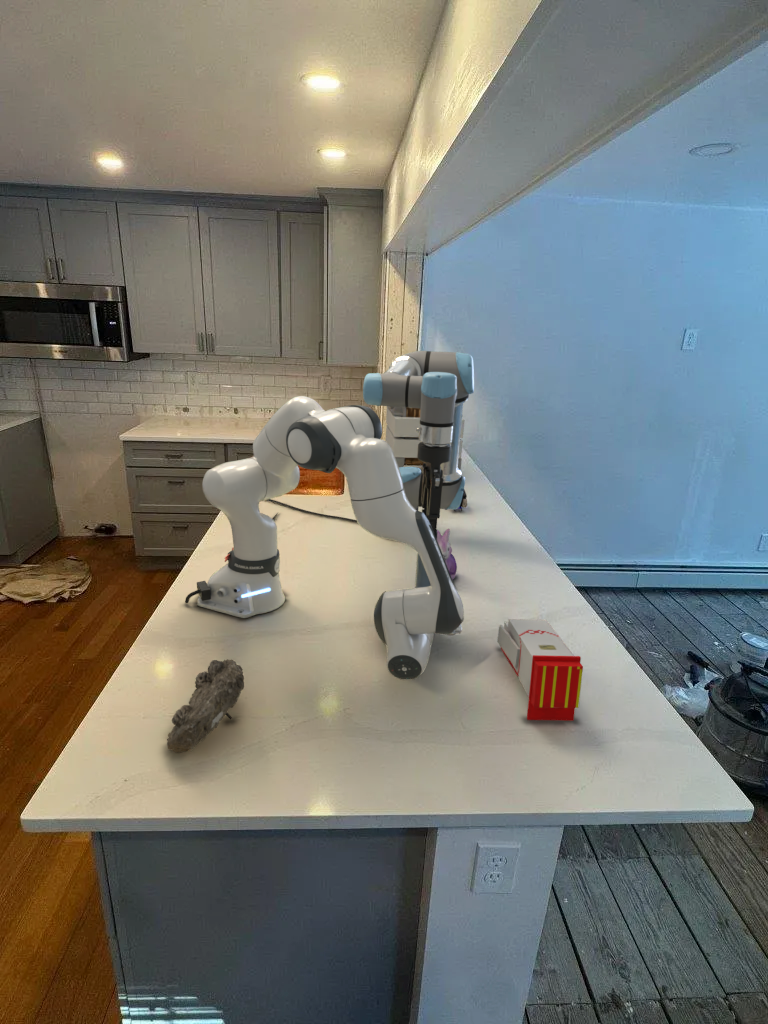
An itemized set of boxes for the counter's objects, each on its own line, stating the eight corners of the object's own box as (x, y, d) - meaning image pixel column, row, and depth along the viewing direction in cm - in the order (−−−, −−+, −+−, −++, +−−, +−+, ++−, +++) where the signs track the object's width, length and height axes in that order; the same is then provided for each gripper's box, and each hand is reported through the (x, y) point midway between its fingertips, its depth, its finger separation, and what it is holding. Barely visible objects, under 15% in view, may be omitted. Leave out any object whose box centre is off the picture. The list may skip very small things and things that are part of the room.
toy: (543, 604, 136) (592, 662, 106) (538, 656, 138) (584, 727, 109) (493, 603, 135) (528, 661, 106) (489, 655, 138) (522, 726, 109)
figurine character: (467, 516, 223) (461, 500, 237) (469, 499, 220) (463, 483, 233) (450, 516, 223) (446, 499, 236) (452, 498, 220) (447, 483, 233)
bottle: (419, 617, 146) (426, 527, 138) (433, 623, 144) (441, 532, 135) (408, 623, 143) (414, 532, 135) (423, 630, 140) (430, 537, 132)
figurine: (438, 587, 162) (442, 538, 157) (419, 572, 171) (423, 526, 166) (465, 581, 166) (470, 534, 161) (446, 567, 175) (450, 522, 170)
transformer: (382, 463, 289) (386, 382, 275) (445, 464, 293) (451, 384, 279) (390, 482, 257) (394, 392, 243) (460, 483, 261) (468, 394, 247)
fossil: (192, 660, 117) (244, 628, 112) (224, 691, 120) (276, 661, 115) (142, 746, 98) (202, 712, 93) (182, 779, 101) (242, 748, 96)
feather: (285, 507, 224) (287, 503, 224) (267, 531, 198) (270, 526, 197) (281, 504, 224) (284, 500, 223) (263, 528, 197) (265, 524, 197)
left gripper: (462, 623, 127) (465, 594, 139) (372, 610, 130) (384, 584, 143) (459, 647, 129) (463, 616, 142) (371, 634, 132) (383, 606, 145)
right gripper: (413, 434, 135) (407, 525, 143) (424, 452, 119) (417, 553, 127) (444, 435, 136) (436, 525, 144) (459, 452, 120) (450, 553, 128)
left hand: (423, 600), depth 142 cm, fingers closed on bottle, 4 cm apart
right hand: (427, 538), depth 136 cm, fingers closed on cap, 4 cm apart
